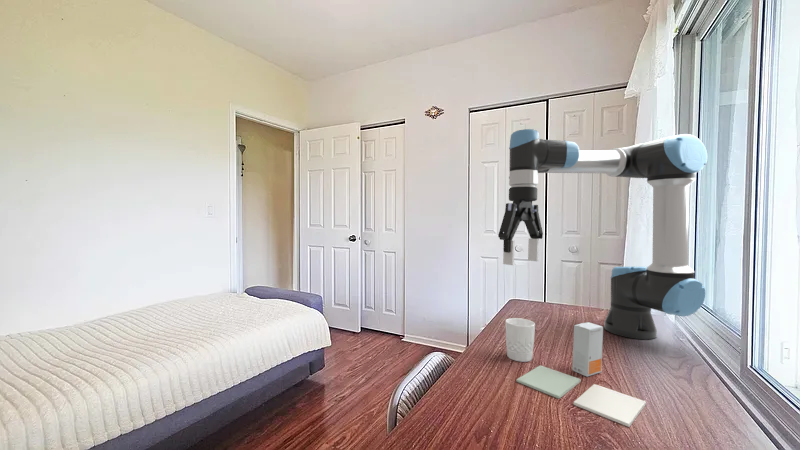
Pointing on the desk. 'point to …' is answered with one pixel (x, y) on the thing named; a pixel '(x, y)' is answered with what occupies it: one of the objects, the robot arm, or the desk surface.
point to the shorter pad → (549, 381)
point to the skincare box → (587, 349)
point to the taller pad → (610, 404)
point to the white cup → (520, 339)
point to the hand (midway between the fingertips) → (521, 262)
